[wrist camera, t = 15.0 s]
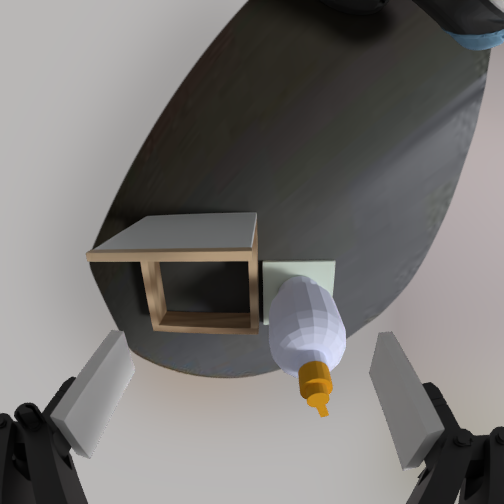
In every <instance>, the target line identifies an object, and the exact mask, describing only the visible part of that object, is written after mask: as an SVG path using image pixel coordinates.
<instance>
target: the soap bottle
mask: <svg viewBox="0 0 504 504" xmlns="http://www.w3.org/2000/svg"><path fill="white" fill-rule="evenodd" d="M269 345H270V350H271V354H272V357H273V359H274V361H275V362H276V363H277V364H278V365H279V367H280V368H281V369H282V370H283V371H284V372H285V373H287V374H289V375H292V376H293V377H297V378H299V386H300V394H301V396H302V397H303V398H305V399H307V404H308V405H309V406H311V407H316V408H317V410H318V412H319V414H320V416H321V417H325V416H328V415H329V414H328V411H327V408H326V406H325V404H327V403H328V401H329V394H330V393H331V391H332V389H333V387H332V381H331V377H330V371H331V370H332V369H333V368H334V367H335V366H336V365H337V364H338V363H339V362H340V360H341V357H342V355H343V353H344V350H345V348H346V332H345V328H344V325H343V322H342V320H341V317H340V315H339V312H338V310H337V307H336V305H335V302H334V300H333V298H332V297H331V295H330V293H329V292H328V291H327V290H325V289H324V288H322V287H321V286H319V285H318V284H317V282H315V281H314V280H312V279H311V278H309V277H304V276H297V277H292V278H290V279H288V280H287V281H285V282H284V283H283V284H282V286H281V287H280V288H279V291H278V294H277V295H276V297H275V298H274V299H273V300H272V303H271V307H270V310H269Z"/></svg>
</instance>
